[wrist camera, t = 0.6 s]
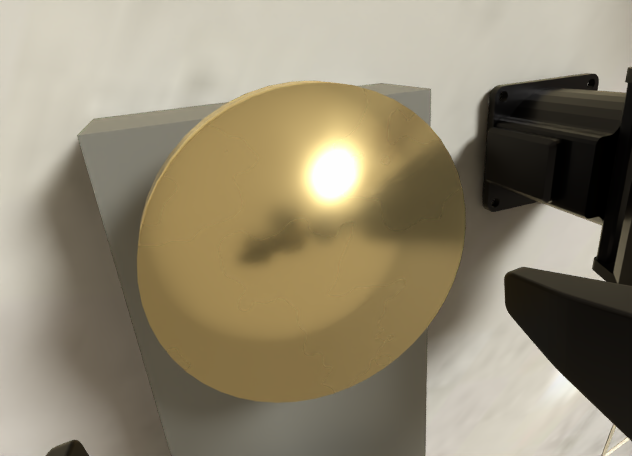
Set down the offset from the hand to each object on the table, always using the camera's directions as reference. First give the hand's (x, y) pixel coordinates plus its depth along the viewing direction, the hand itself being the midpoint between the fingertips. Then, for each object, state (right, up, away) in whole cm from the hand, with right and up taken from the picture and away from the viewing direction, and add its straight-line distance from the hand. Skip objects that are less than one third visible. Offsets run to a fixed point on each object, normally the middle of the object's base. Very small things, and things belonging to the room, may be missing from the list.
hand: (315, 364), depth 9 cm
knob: (-1, +3, +8) cm, 9 cm away
